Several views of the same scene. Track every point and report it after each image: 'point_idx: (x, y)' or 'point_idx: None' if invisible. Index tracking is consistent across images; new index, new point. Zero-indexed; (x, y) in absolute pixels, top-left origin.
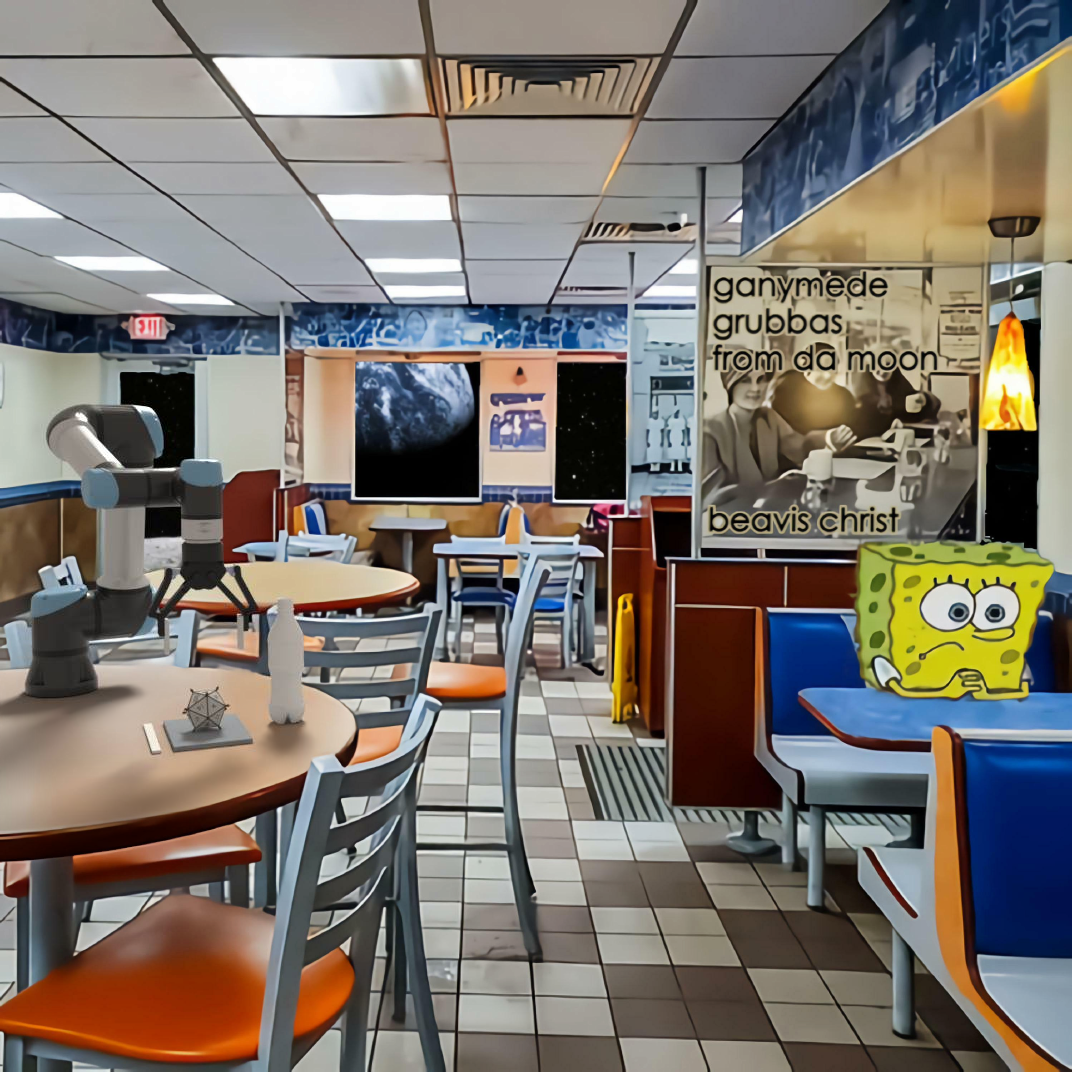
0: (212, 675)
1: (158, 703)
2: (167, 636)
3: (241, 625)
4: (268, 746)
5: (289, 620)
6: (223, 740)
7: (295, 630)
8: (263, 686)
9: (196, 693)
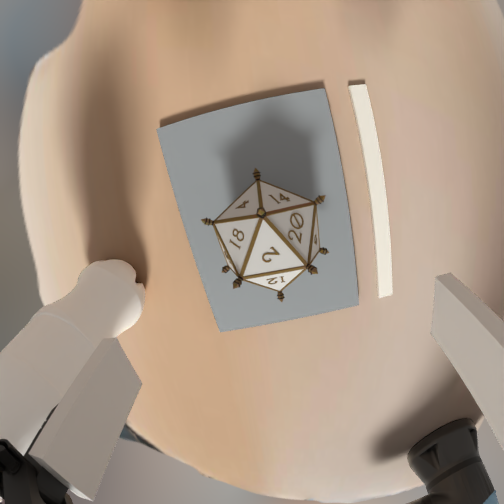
0: (280, 486)
1: (354, 411)
2: (492, 323)
3: (57, 418)
4: (128, 101)
5: None
6: (218, 119)
7: None
8: (208, 454)
9: (297, 250)
